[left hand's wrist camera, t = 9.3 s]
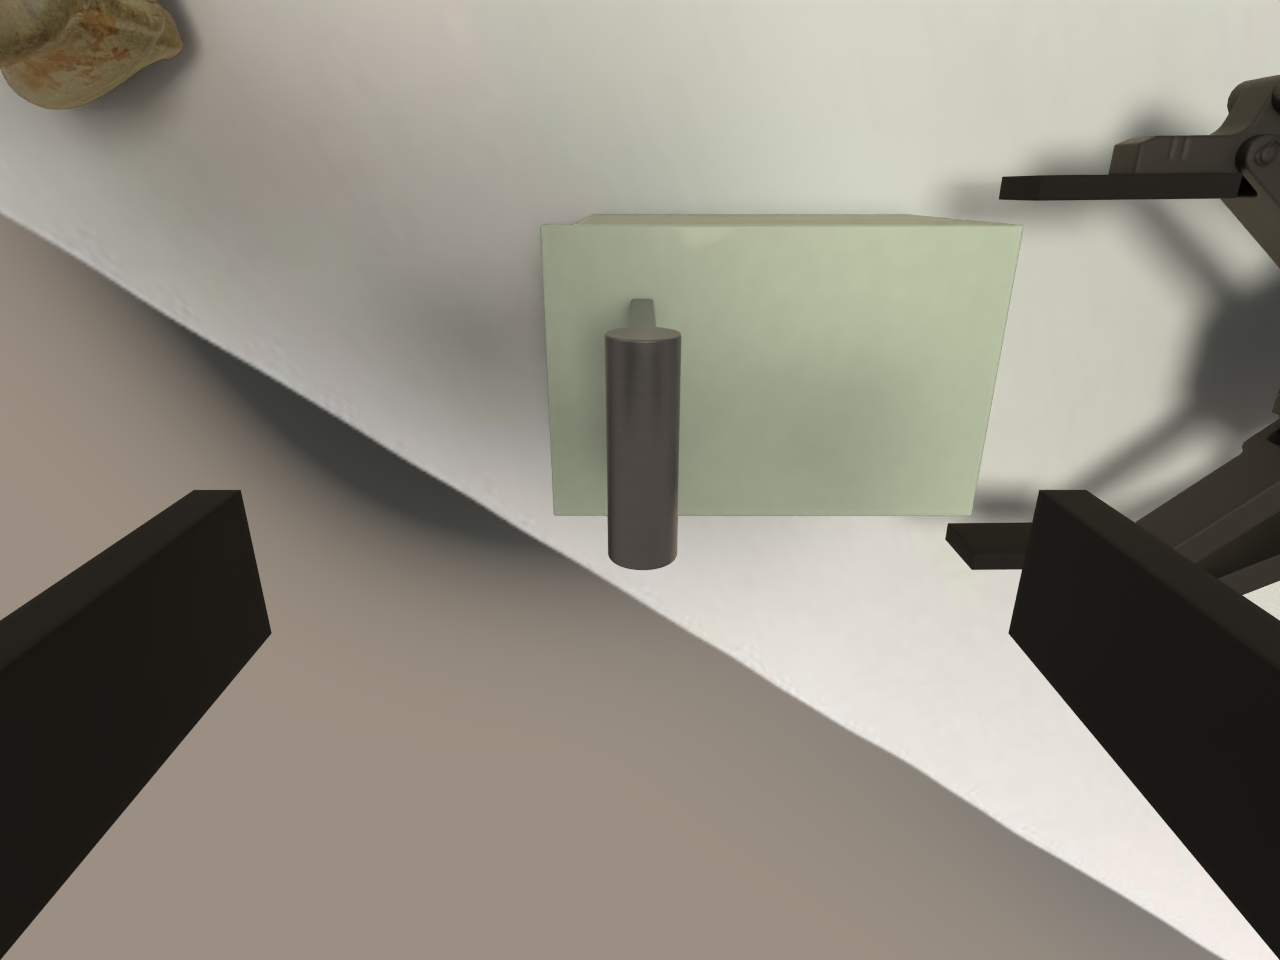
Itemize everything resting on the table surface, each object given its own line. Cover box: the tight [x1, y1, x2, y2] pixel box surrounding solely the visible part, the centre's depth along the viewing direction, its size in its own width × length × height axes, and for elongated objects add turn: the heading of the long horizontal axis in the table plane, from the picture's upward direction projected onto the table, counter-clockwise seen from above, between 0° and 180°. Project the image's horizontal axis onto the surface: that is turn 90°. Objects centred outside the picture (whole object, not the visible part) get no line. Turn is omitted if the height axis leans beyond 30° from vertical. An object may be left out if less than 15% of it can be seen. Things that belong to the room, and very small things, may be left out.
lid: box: [540, 224, 1023, 570], centre depth 21 cm, size 15×10×8 cm, turn 90°
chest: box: [575, 215, 1003, 224], centre depth 29 cm, size 14×10×9 cm
